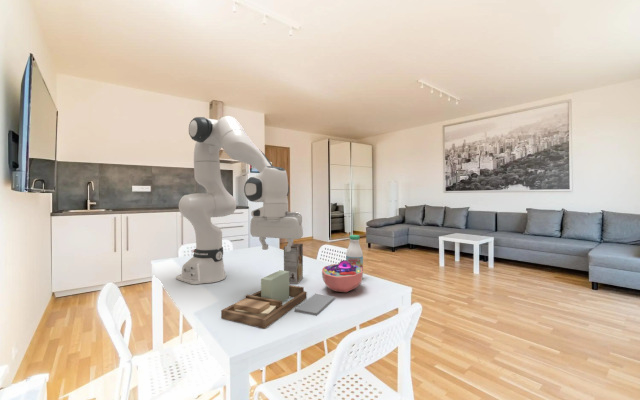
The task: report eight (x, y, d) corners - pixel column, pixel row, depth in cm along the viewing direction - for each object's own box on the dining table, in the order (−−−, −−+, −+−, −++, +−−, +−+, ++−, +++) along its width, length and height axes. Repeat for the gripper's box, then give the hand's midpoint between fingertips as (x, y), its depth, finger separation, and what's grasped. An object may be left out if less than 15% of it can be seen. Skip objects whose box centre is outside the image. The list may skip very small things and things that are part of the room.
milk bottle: (344, 276, 134) (344, 234, 133) (360, 276, 134) (361, 234, 134) (347, 281, 126) (347, 236, 125) (364, 281, 127) (364, 236, 126)
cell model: (312, 293, 111) (312, 264, 110) (333, 280, 128) (334, 255, 128) (353, 301, 103) (353, 270, 102) (370, 285, 120) (370, 259, 120)
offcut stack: (229, 319, 89) (229, 304, 89) (242, 310, 96) (242, 297, 95) (267, 324, 85) (267, 309, 85) (277, 315, 92) (277, 301, 92)
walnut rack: (221, 318, 88) (221, 305, 88) (269, 291, 112) (269, 281, 112) (264, 328, 82) (264, 314, 82) (306, 298, 106) (306, 287, 105)
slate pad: (294, 311, 94) (294, 309, 94) (315, 295, 108) (315, 293, 108) (316, 315, 90) (316, 313, 90) (334, 298, 105) (334, 296, 105)
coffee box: (289, 277, 132) (289, 243, 132) (303, 278, 131) (303, 243, 131) (283, 283, 123) (283, 246, 123) (297, 284, 122) (297, 247, 122)
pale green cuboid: (261, 307, 97) (261, 278, 97) (280, 296, 108) (280, 270, 108) (270, 309, 95) (270, 280, 95) (289, 297, 106) (289, 271, 106)
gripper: (305, 211, 99) (306, 250, 100) (258, 210, 108) (258, 247, 108) (297, 212, 94) (297, 254, 94) (247, 211, 102) (247, 249, 102)
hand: (276, 250), depth 101 cm, fingers open, 8 cm apart
